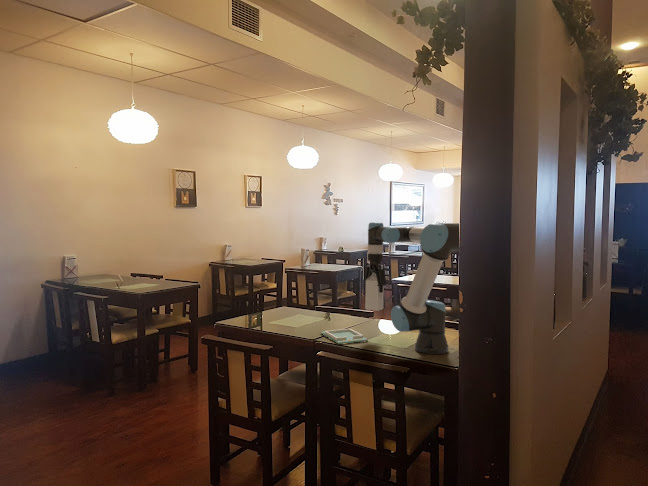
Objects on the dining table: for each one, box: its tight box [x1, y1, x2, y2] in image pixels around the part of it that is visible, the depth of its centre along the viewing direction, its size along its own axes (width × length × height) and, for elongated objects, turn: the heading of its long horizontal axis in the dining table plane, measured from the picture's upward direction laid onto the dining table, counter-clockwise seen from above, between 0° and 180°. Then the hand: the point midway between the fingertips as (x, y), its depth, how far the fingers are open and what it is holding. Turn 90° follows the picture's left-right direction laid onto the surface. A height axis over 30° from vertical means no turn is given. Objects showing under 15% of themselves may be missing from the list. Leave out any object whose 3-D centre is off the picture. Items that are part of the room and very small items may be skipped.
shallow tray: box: [320, 328, 369, 345], centre depth 237 cm, size 22×16×2 cm
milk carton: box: [364, 272, 385, 312], centre depth 235 cm, size 7×7×19 cm
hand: (374, 297), depth 235 cm, fingers closed on milk carton, 10 cm apart
